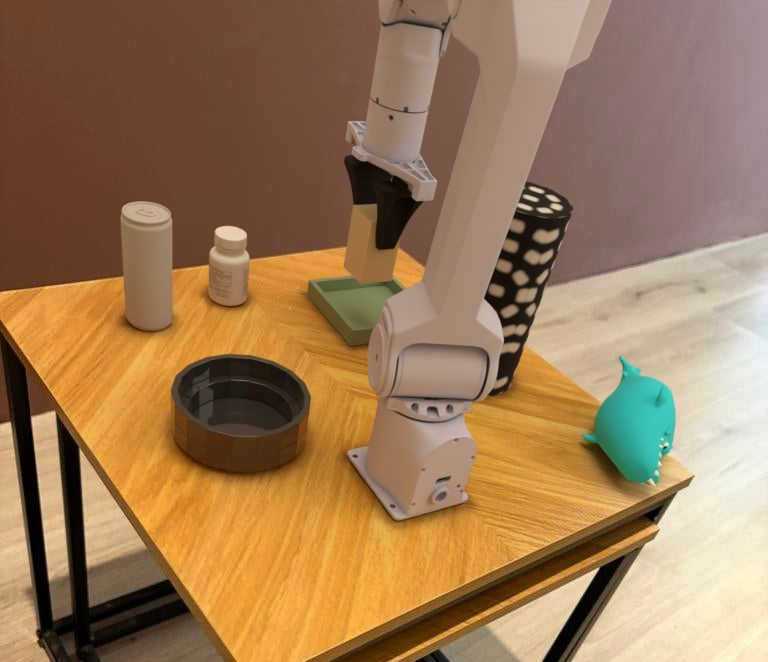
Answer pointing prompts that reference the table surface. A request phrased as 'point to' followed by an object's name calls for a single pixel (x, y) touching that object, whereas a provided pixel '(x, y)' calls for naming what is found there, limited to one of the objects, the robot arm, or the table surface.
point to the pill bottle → (229, 267)
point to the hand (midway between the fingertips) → (374, 237)
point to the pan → (239, 412)
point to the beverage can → (147, 265)
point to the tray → (352, 304)
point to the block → (367, 248)
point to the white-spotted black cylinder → (525, 271)
